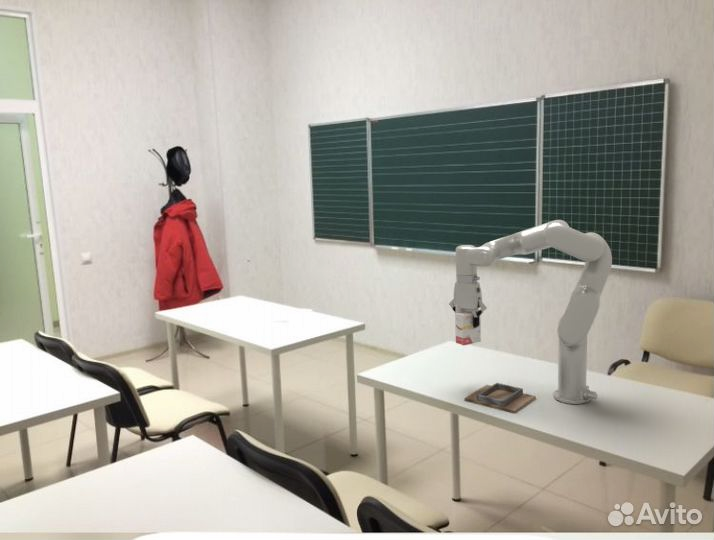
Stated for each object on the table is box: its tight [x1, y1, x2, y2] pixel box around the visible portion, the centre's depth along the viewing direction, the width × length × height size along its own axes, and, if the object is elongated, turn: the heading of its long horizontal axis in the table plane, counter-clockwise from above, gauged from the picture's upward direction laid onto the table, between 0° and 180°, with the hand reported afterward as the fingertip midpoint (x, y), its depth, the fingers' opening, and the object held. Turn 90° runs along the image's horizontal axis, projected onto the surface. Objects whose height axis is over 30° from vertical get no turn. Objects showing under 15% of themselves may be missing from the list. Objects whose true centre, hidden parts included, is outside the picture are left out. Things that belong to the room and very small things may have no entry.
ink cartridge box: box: [454, 305, 482, 346], centre depth 229 cm, size 9×5×15 cm, turn 120°
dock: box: [464, 382, 537, 414], centre depth 221 cm, size 20×16×3 cm
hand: (468, 325), depth 229 cm, fingers closed on ink cartridge box, 6 cm apart
